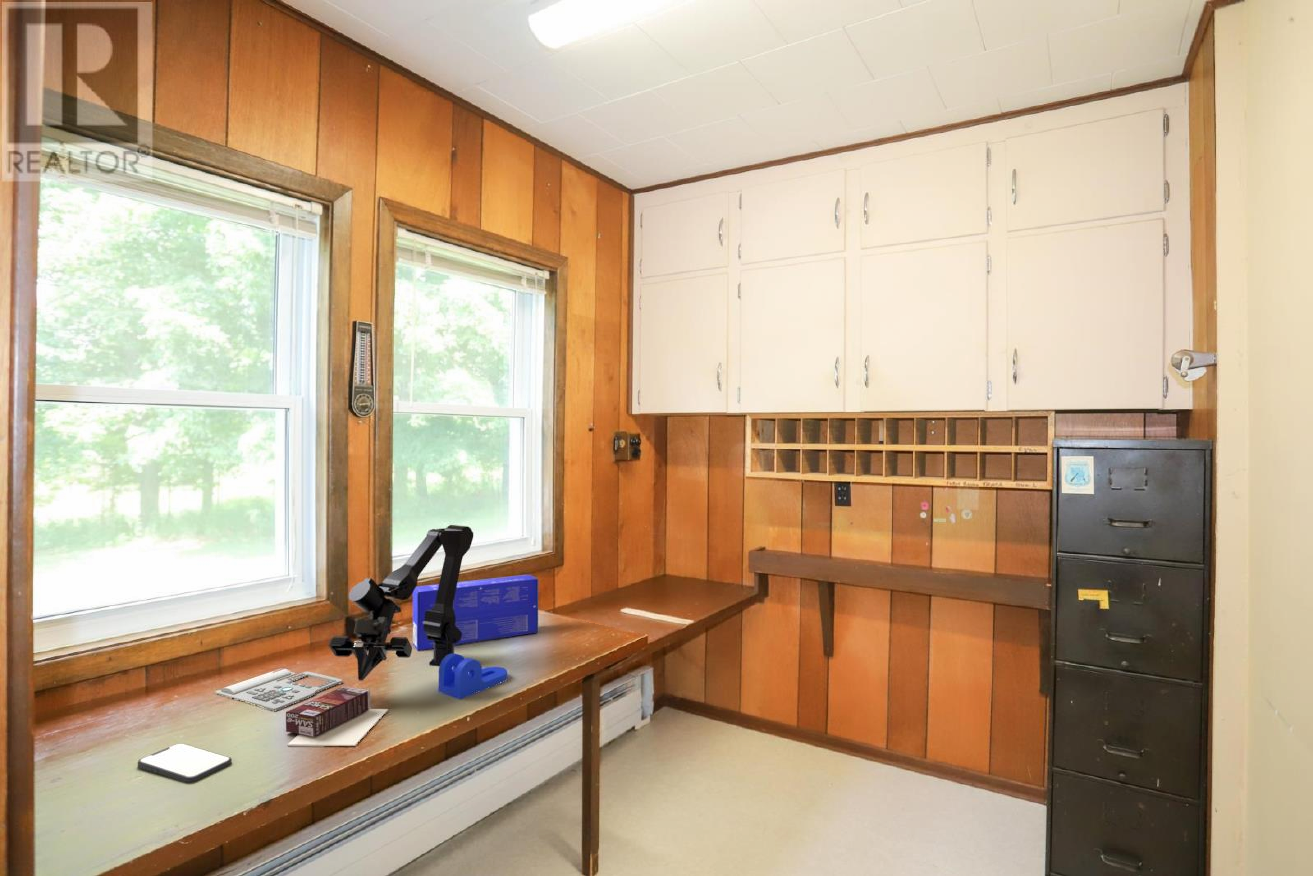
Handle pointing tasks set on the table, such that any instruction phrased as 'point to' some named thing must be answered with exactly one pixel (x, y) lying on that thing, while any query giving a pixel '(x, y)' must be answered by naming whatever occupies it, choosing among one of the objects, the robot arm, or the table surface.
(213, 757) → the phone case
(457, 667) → the bracket
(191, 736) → the table surface
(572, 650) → the table surface
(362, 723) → the mat
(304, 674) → the office telephone
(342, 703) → the supplement box
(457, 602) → the toner cartridge box
